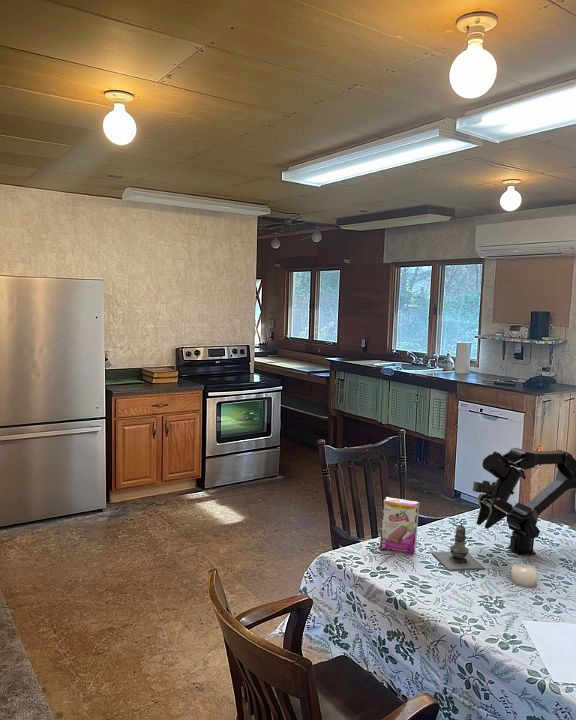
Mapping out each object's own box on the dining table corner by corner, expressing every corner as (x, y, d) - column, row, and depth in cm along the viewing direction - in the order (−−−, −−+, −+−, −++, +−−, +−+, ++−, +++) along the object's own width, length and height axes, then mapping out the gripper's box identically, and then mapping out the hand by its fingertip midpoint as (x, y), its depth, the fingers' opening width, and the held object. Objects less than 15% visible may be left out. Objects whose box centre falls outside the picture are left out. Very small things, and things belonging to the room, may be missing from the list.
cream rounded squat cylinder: (527, 575, 177) (528, 562, 177) (541, 586, 170) (542, 573, 170) (506, 576, 176) (507, 563, 176) (519, 587, 169) (520, 574, 169)
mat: (466, 552, 191) (466, 551, 191) (484, 569, 180) (484, 567, 179) (431, 553, 189) (431, 552, 189) (448, 570, 177) (448, 569, 177)
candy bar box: (379, 549, 191) (382, 500, 189) (382, 543, 195) (385, 496, 194) (414, 555, 187) (417, 506, 185) (416, 549, 192) (419, 501, 190)
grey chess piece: (453, 564, 181) (456, 526, 180) (445, 555, 187) (448, 519, 185) (471, 563, 182) (474, 526, 181) (462, 555, 188) (465, 519, 186)
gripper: (475, 469, 199) (452, 509, 198) (492, 471, 181) (467, 515, 179) (504, 487, 198) (481, 527, 196) (524, 491, 180) (499, 535, 178)
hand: (481, 526), depth 187 cm, fingers open, 9 cm apart
